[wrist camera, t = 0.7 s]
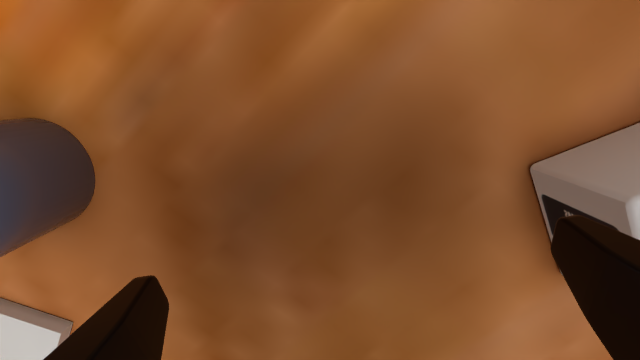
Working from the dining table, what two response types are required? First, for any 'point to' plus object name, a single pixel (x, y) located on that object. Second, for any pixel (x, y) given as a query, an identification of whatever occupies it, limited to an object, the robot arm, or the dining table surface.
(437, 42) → the dining table surface
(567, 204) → the container
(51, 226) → the blue cylinder
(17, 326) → the tray
